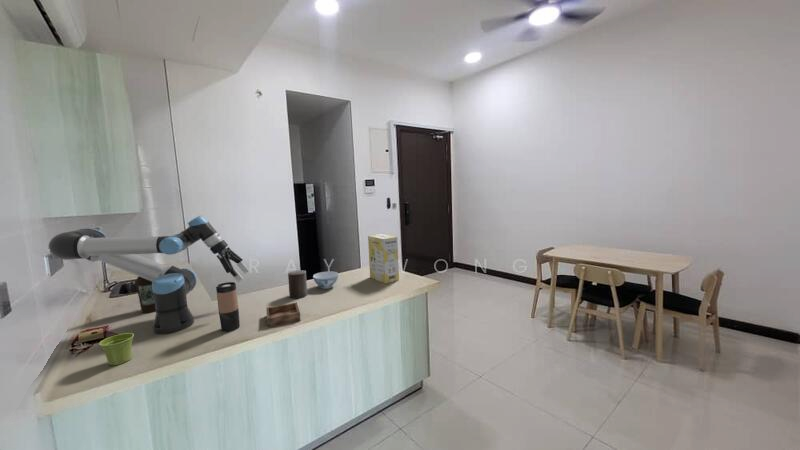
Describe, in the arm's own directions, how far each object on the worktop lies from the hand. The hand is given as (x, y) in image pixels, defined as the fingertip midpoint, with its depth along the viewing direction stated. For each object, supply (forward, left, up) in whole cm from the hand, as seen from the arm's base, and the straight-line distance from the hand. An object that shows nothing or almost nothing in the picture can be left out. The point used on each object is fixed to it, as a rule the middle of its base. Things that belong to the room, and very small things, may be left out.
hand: (244, 276), depth 161 cm
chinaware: (+43, +11, -17) cm, 48 cm away
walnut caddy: (+16, -25, -16) cm, 34 cm away
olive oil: (-46, +21, -17) cm, 53 cm away
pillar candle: (+26, +4, -17) cm, 31 cm away
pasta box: (+80, +9, -17) cm, 82 cm away
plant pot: (-41, -36, -17) cm, 57 cm away
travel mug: (-6, -25, -17) cm, 31 cm away
